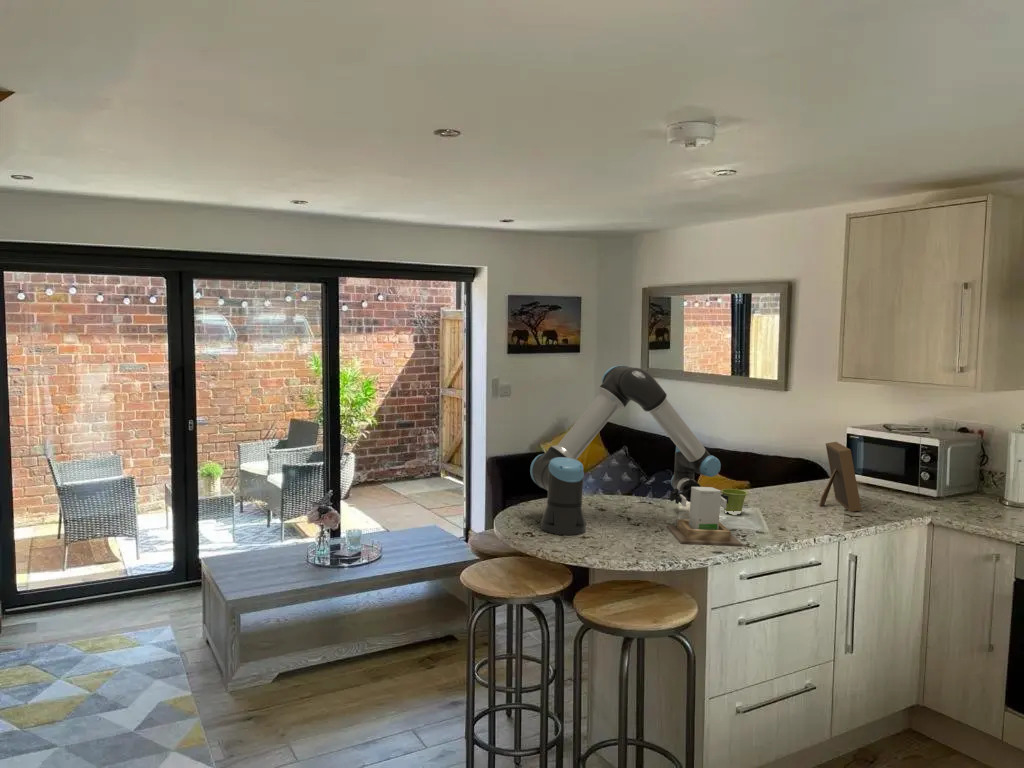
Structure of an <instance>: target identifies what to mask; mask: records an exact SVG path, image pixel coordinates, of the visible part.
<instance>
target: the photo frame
mask: <svg viewBox="0 0 1024 768" xmlns="http://www.w3.org/2000/svg"><path fill="white" fill-rule="evenodd" d="M825 449H826V454H827V460H828V465H829V471H830V478H829V480H828V482H827V485H826V486H825V488H824V490H823V493H822V495H821V497H820V502H819V505H818V506H819V507H823V506H825V503H826V501H827V498H828V496H829V493H830V490H831V488H832V487H833V492H834V498H835V500H836V502H838V503H839V504H840V505H841V506H843V507H844V508H845V509H846V510H847V511H849V512H850V513H851V512H858V511H862V505H861V499H860V494H859V490H858V483H857V477H856V472H855V467H854V461H853V456H852V450H851V449H850V448H848V447H846V446H845V445H843V444H841V443H839V442H838V441H833V442H827V443H826V442H825Z"/></svg>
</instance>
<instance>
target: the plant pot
mask: <svg viewBox="0 0 1024 768" xmlns="http://www.w3.org/2000/svg"><path fill="white" fill-rule="evenodd" d="M720 491H721V494H724V495H726V496H729V498H728V503H727V504H726V508H723V511H724V510H726V511H733V512H734V511H743V507H744V502H745V499H746V496H747V495H748V492H747V491H745V490H742V489H736V488H735V489H734V488H723V489H721V490H720Z"/></svg>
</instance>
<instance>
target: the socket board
mask: <svg viewBox="0 0 1024 768" xmlns="http://www.w3.org/2000/svg"><path fill="white" fill-rule="evenodd" d="M666 528H667V530H668V531H669V532H670V533H671V535H673V537H674V538H675V539H676V540H677V541H678V543H679V544H680V545H703V546H704V545H705V546H724V547H726V546H730V547H731V546H732V547H743V543H742V542H741V541H740V540H739V539H738V538H737V537H735V536H734V535H733V534H732V533H731V531H730V530H729V529H728V527H726V526H725V525H724V524H723V523H721V522H720V521H719V527H718V530H703V529H691V528H690V527H689V519H684V518H682V519H681V518H678V519H677V525H675V524H674V525H673V524H672V525H671V524H667V525H666Z"/></svg>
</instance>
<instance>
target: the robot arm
mask: <svg viewBox="0 0 1024 768" xmlns="http://www.w3.org/2000/svg"><path fill="white" fill-rule="evenodd" d="M601 381H602V382H601V384H600V386H599V387H598V395H597V396H596V397H595V399H594V400H593V401H592V402H591V404H590V405H589V406H588V407H587V408H586V410H585V411H583V413H582V415H581V416H580V417H579V418H578V419H577V421H576V422H575V423H574V425H572V426H571V428H570V429H568V431H567V433H566V434H565V435H564V436H563V438H562V439H561V440H560V441H559V442H558V443H557V444H556V445H550V446H549V448H548V449H547V450H546V451H545V452H544V453H541V454H538V455H537V456H535V458H534V459H533V460H532V461H531V464H530V468H529V472H530V477H531V480H532V481H533V482H534V483H535V484H536V485H537V486H538V487H539V488H541V489H544V490H546V491H547V503H546V507H545V509H544V513H543V515H542V518H541V520H540V529H541V530H542V531H544V532H547V533H550V534H554V535H562V536H571V535H572V536H573V535H574V536H575V535H580V534H583V533H585V532H586V529H587V523H586V520H585V516H584V512H583V508H582V505H583V488H584V476H585V472H584V465H583V463H582V462H581V461H580V460H578V459H579V458H580V456H581V455H582V454H583V452H584V451H585V450H586V449H587V447H588V446H589V445H590V444H591V442H592V441H593V440H594V439H595V438H596V437H597V435H598V434H600V431H602V429H603V428H604V427H605V425H606V424H607V423H608V422H609V420H611V418H612V417H613V416H614V415H615V413H616V412H617V411H618V410H623V409H625V408H626V406H627V405H628V404H629V402H634V403H636V404H637V405H639V406H640V407H641V408H642V410H643V411H644V412H648V413H649V414H650V415H651V416H652V417H653V419H654V420H655V421H656V423H657V424H658V425H659V426H660V427H661V429H663V431H664V433H665V434H666V435H667V436H668V438H669V439H670V440H671V441H672V442H673V444H674V445H675V452H674V471H673V475H672V477H671V480H670V484H671V487H672V488H673V491H671V492H670V493H669V501H670V502H674V501H675V503H674V504H675V505H676V504H677V505H678V504H681V505H682V507H684V508H686V507H687V502H688V503H690V501H691V487H702V486H701V484H699V483H698V482H697V481H696V480H695V473H696V474H699V475H701V476H704V477H709V478H712V477H715V476H717V475H718V474H719V473H720V471H721V466H722V464H721V461H720V459H719V458H717V457H716V456H714V455H711V453H709V451H708V450H707V449H706V448H705V447H704V445H703V444H702V442H701V441H700V440H699V438H698V437H697V435H695V433H694V432H693V431H692V429H691V428H690V427H689V426H688V425H687V423H686V422H685V420H684V419H683V418H682V416H680V414H679V413H678V412H677V410H676V409H675V408H674V406H673V405H672V404H671V403H670V402H669V401H670V400H668V399H667V396H668V395H667V392H666V391H665V390H664V389H663V388H662V386H661V385H660V384H659V383H658V381H657V380H656V379H655V378H654V377H653V376H652V375H651V374H650V373H649V372H648V371H646V370H644V369H643V368H640V367H632V366H631V367H630V366H627V365H615V366H612V367H610V368H608V369H607V370H606V371H605V373H604V374H603V376H602V379H601ZM728 498H729V496H726V495H724V494H723V493H721V501H720V507H721V508H723V509H724V508H726V504H727V503H728Z"/></svg>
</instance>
